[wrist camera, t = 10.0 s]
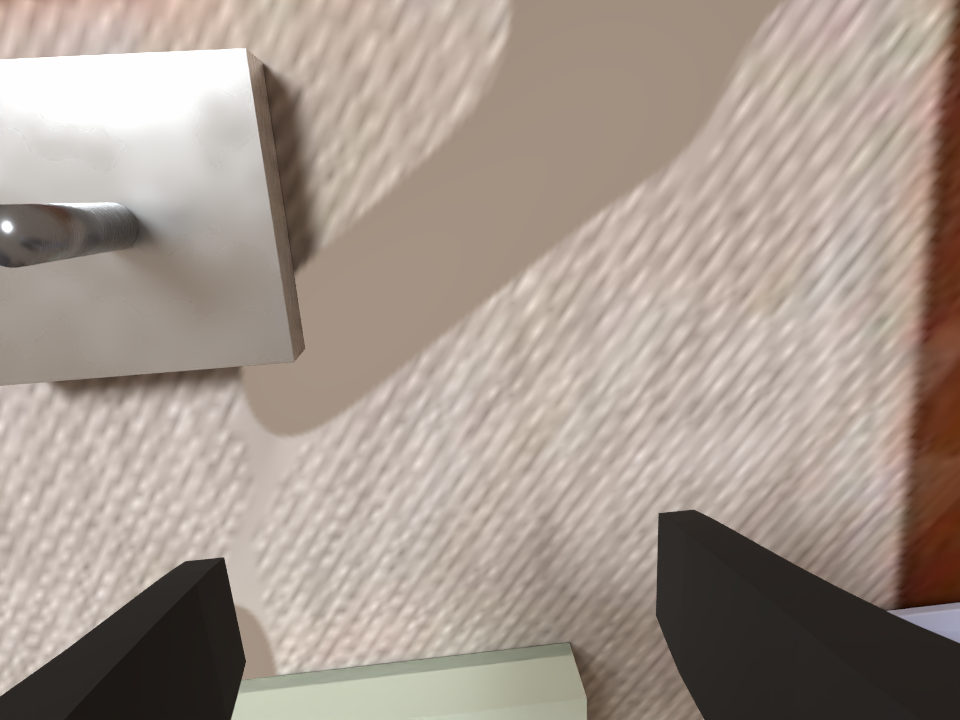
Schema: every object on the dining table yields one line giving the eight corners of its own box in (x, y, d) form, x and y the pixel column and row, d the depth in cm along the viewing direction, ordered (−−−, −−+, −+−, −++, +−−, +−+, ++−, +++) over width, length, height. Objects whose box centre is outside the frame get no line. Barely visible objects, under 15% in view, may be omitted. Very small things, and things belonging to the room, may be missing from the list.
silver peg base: (262, 62, 16) (178, -7, 10) (305, 348, 18) (253, 412, 13) (-51, 77, 15) (-306, 13, 10) (32, 370, 17) (-140, 445, 12)
